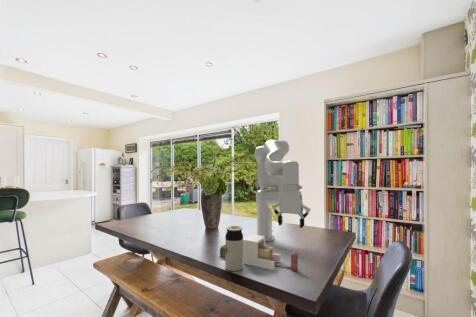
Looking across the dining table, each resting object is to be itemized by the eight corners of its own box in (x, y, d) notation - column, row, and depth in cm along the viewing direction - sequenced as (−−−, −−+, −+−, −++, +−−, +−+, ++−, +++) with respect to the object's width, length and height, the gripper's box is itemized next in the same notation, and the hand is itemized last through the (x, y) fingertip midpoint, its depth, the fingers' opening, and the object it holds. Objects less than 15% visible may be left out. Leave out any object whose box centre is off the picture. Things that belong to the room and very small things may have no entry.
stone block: (225, 252, 121) (226, 243, 121) (243, 258, 114) (243, 248, 114) (218, 256, 116) (219, 246, 116) (236, 261, 109) (236, 251, 110)
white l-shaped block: (252, 255, 116) (252, 234, 117) (280, 261, 109) (280, 238, 109) (242, 263, 107) (243, 239, 107) (273, 270, 100) (273, 244, 100)
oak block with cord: (257, 259, 112) (257, 244, 113) (299, 267, 102) (299, 252, 103) (252, 263, 107) (252, 248, 107) (296, 273, 97) (295, 256, 98)
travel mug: (242, 264, 106) (242, 225, 107) (243, 271, 98) (243, 229, 99) (225, 264, 106) (225, 225, 107) (225, 271, 98) (225, 229, 99)
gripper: (311, 188, 102) (312, 226, 101) (275, 186, 110) (275, 222, 109) (308, 189, 95) (308, 230, 94) (269, 187, 104) (269, 225, 102)
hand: (290, 226), depth 102 cm, fingers open, 9 cm apart
